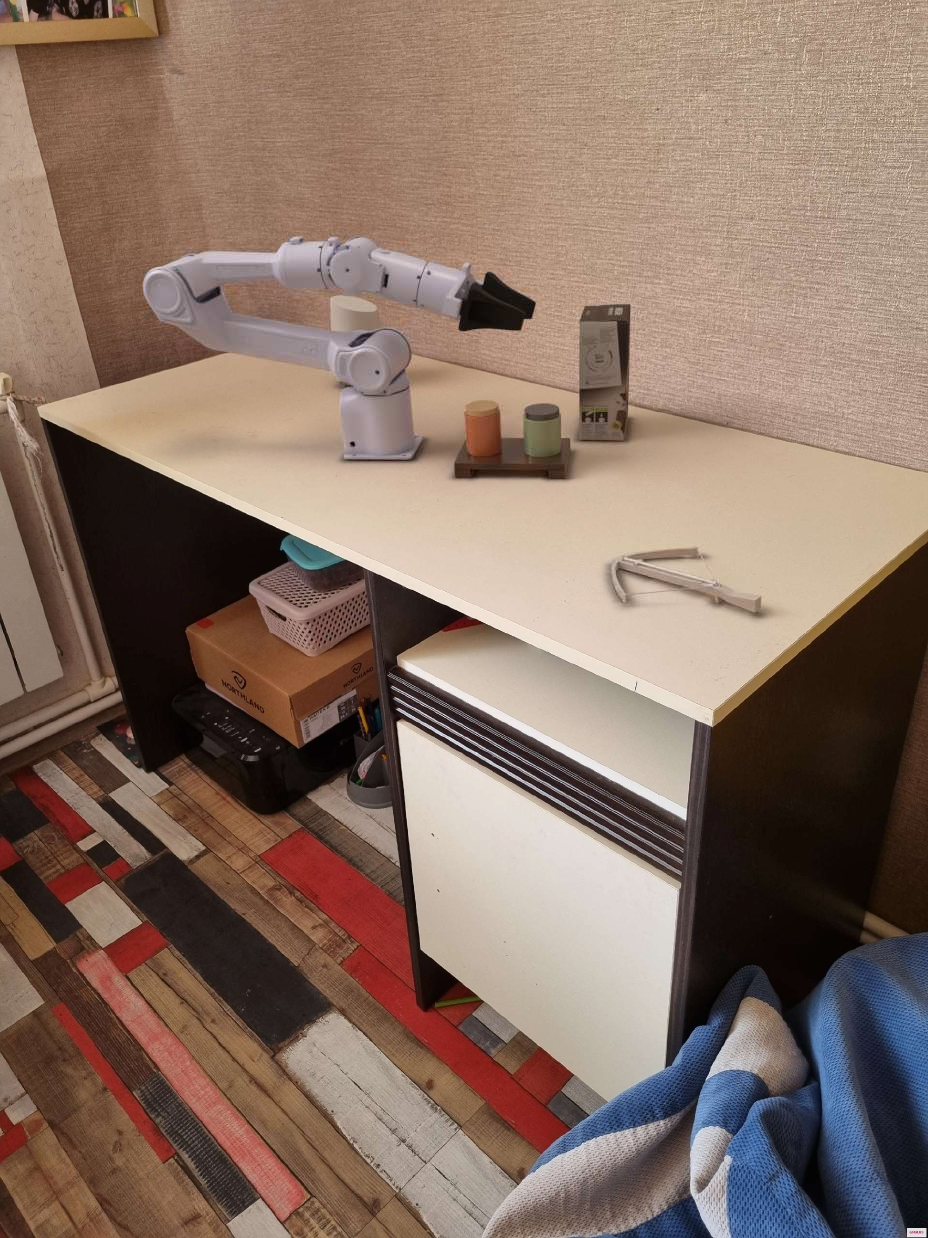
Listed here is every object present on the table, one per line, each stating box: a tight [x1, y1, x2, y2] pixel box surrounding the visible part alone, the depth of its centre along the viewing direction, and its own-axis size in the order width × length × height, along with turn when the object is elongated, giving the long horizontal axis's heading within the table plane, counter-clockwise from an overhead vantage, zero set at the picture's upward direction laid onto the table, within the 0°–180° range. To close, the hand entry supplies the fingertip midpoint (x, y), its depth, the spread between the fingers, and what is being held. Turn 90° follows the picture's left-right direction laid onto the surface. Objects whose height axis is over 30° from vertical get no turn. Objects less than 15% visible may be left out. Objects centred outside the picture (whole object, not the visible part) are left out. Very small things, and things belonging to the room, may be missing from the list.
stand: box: [453, 437, 572, 480], centre depth 123 cm, size 14×9×2 cm, turn 80°
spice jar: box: [463, 399, 503, 457], centre depth 121 cm, size 5×5×6 cm
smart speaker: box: [329, 295, 383, 387], centre depth 154 cm, size 10×9×14 cm
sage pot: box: [522, 402, 562, 457], centre depth 120 cm, size 5×5×6 cm
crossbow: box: [610, 545, 762, 614], centre depth 93 cm, size 16×13×2 cm
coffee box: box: [578, 303, 632, 442], centre depth 128 cm, size 9×6×16 cm
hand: (528, 316), depth 117 cm, fingers open, 7 cm apart
